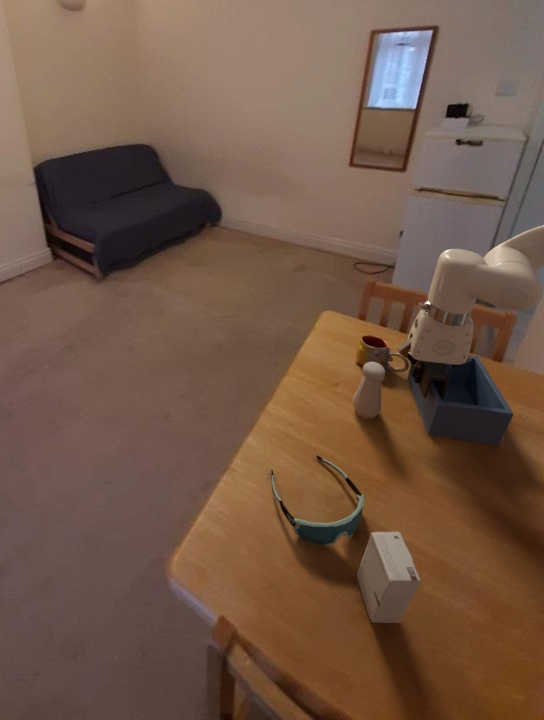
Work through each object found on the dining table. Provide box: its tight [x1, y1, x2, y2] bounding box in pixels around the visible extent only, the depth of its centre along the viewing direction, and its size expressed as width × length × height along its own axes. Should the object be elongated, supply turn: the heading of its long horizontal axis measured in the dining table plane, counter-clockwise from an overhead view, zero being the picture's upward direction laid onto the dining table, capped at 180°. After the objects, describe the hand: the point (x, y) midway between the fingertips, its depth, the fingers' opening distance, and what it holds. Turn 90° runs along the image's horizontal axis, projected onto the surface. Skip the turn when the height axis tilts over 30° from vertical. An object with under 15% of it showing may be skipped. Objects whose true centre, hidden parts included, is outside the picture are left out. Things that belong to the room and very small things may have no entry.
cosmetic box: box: [356, 531, 422, 624], centre depth 57 cm, size 6×4×12 cm
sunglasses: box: [270, 454, 365, 546], centre depth 72 cm, size 14×15×5 cm
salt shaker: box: [352, 362, 386, 420], centre depth 86 cm, size 6×6×13 cm
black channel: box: [409, 361, 450, 400], centre depth 86 cm, size 4×10×6 cm, turn 168°
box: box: [406, 354, 514, 446], centre depth 87 cm, size 13×16×9 cm
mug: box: [355, 334, 410, 373], centre depth 100 cm, size 12×7×7 cm, turn 45°
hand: (426, 379), depth 87 cm, fingers closed on black channel, 3 cm apart
